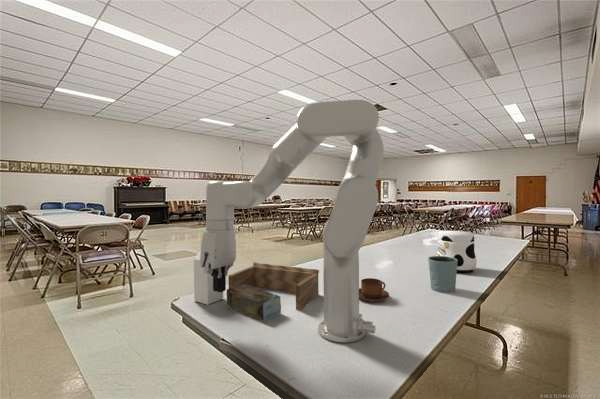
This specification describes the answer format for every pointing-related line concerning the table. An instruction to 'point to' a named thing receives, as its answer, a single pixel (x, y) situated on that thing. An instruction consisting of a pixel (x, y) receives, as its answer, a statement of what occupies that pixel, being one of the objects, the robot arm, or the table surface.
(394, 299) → the table surface
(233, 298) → the beverage carton
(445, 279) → the teal cup
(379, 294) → the cup and saucer
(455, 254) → the milk container
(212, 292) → the milk carton
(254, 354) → the table surface
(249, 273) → the frame
